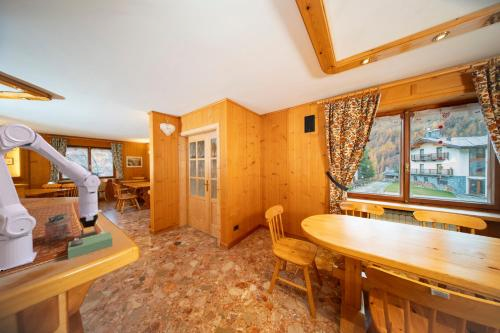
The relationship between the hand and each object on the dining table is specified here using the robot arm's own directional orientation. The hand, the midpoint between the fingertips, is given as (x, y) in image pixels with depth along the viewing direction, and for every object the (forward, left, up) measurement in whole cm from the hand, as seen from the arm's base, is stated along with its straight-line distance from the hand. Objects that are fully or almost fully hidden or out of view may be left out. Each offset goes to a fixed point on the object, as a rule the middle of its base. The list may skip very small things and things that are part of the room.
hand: (89, 233), depth 67 cm
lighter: (-9, +10, -2) cm, 13 cm away
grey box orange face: (0, -5, -1) cm, 5 cm away
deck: (0, -12, -1) cm, 12 cm away
